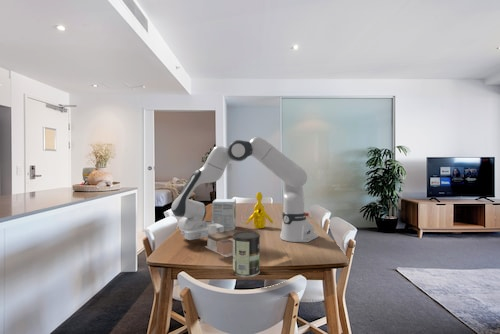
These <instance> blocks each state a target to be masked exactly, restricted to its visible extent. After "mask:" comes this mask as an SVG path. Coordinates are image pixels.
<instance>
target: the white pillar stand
mask: <svg viewBox="0 0 500 334" xmlns="http://www.w3.org/2000/svg"><path fill="white" fill-rule="evenodd" d="M207 233H209V234H210V235H211V234H216V225H214V224H211V225H208V231H207ZM206 239H207V241H206V242H207V245H205V246H204V248H206V249H208V250H210V251H212V252H214V253H216V254H219V255H221V256H223V257H226V258H228V257H233V252H232V253H229V254H225V255H222V254H220V253H218V252H217V241H214V240H212V239H209V238H206Z"/></svg>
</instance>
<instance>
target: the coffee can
mask: <svg viewBox="0 0 500 334" xmlns="http://www.w3.org/2000/svg"><path fill="white" fill-rule="evenodd" d="M260 239H261V234H259V233H258V232H255V231H242V232H237V233H234V234H233V238H232V241H233V255H232V270H233V271H234V272H233V275H234V276H236V277H238V278H253V277H257V276H258V275H260V273H261V271H260V270H261V269H260V257H261V256H260V247H261V245H260V243H261V242H260V241H261V240H260Z"/></svg>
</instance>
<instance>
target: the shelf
mask: <svg viewBox="0 0 500 334" xmlns="http://www.w3.org/2000/svg"><path fill="white" fill-rule="evenodd" d="M237 232H243V231H241V230H238V229H234V230H231V231H224V232H221V233H216V234H211V235H208V238H209V239H212V240H214V241H216V242H217V241H221V240H226V239H228V240H231V239H233V234H234V233H237Z"/></svg>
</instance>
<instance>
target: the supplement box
mask: <svg viewBox="0 0 500 334" xmlns="http://www.w3.org/2000/svg"><path fill="white" fill-rule="evenodd" d="M211 208H212V210H211V213H212V214H211V216H212V217H211V221H213V222H214V223H217V224H220V225H223V226H224V232H226V231H231V230H236V227H237V199H235V198H215V199H214V200H213V201H212V205H211Z"/></svg>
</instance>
